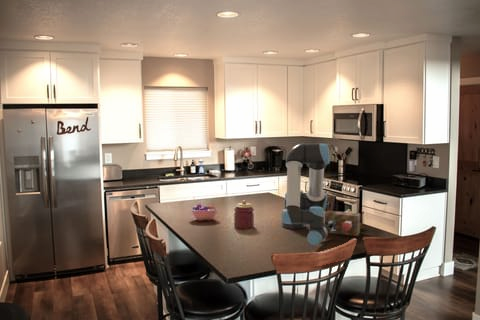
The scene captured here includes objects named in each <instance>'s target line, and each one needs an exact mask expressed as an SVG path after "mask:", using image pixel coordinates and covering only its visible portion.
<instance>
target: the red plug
mask: <svg viewBox="0 0 480 320" xmlns="http://www.w3.org/2000/svg"><path fill="white" fill-rule="evenodd" d="M352 226H353V220H347V221H345V222H344V223H343V224H342V226H341V228H342V230H343V231H346V232H347V231H349V230H350V229H351V227H352Z"/></svg>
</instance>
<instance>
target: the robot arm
mask: <svg viewBox="0 0 480 320" xmlns="http://www.w3.org/2000/svg"><path fill="white" fill-rule="evenodd" d="M330 163H331V159H330V148H329V145H328V144H327V143H321V142H320V143H303V142H302V143H299V144H296V145H294V146H293V147H292V148H291V149H290V150H289V152H288V153H287V156H286V159H285V167H286V169H287V171H286V172H287V173H286V192H285V193H284V209H283V210H282V213H281V220H282V221H281V227H282V228H284V229H287V230H288V229H290V230H300V229H305V227H306V225H307V226H309V227H308V229H309V232H308V234H307V237H306V239H307V241H308V243H309V244H311V245H312V246H316V245H319V244H321V243H322V241H324V239H326V238H327V237H328V236H329V234H331V233H330V232H331V231H332V232H336V228H335V224H333V221H329V222H325V211H326V210H327V202H328V194H327V192H326V193H325V190H324V177H325V176H324V175H325V174H324V173H325V169H326V167H327V165H329V164H330ZM303 164H306V165H307V167H308V169H309V175H308V176H309V177H308V178H309V179H308V181H309V182H308V190H307V191H306V192H304V190H301V181H302V180H301V177H302V176H301V175H302V173H301V172H302V167H303V166H304V165H303Z"/></svg>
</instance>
